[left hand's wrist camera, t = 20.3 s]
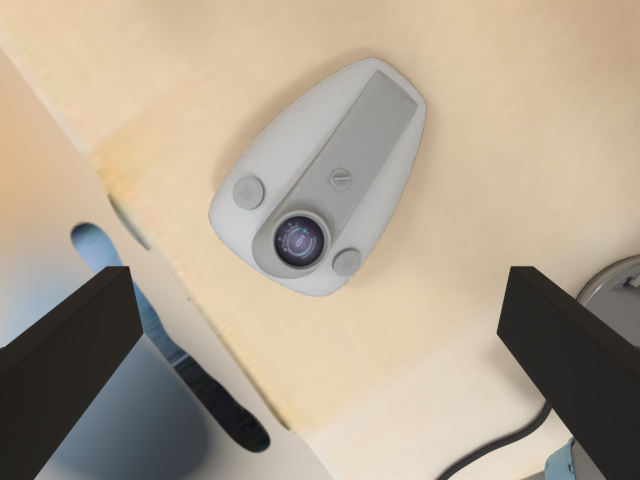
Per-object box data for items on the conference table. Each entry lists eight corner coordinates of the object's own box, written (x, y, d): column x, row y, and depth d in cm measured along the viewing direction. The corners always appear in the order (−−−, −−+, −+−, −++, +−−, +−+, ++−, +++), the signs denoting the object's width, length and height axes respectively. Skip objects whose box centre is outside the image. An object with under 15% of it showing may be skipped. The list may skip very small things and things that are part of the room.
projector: (431, 254, 43) (483, 326, 29) (245, 285, 45) (213, 368, 31) (414, 49, 35) (475, 19, 21) (189, 96, 37) (112, 95, 23)
